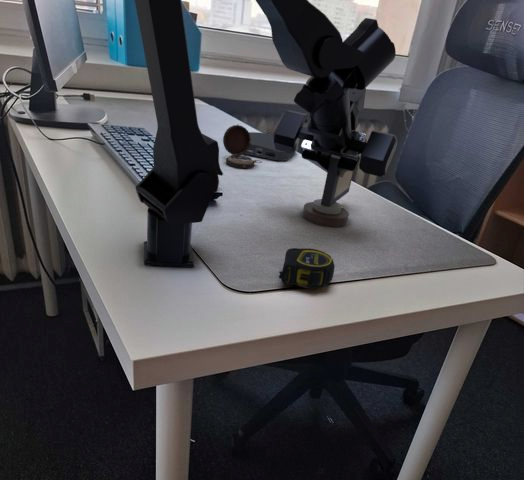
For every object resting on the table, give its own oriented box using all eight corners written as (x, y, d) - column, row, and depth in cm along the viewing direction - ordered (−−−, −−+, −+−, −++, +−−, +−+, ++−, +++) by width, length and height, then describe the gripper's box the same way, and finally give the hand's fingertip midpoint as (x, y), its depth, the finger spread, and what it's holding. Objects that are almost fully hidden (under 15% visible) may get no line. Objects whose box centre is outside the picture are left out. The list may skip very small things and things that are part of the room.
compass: (230, 168, 108) (234, 132, 104) (220, 157, 114) (223, 122, 110) (265, 170, 110) (270, 134, 106) (254, 159, 116) (259, 125, 112)
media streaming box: (298, 151, 129) (300, 139, 127) (284, 164, 117) (286, 150, 115) (243, 139, 131) (245, 127, 129) (224, 150, 119) (225, 137, 117)
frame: (335, 217, 87) (347, 162, 82) (308, 209, 88) (318, 155, 83) (355, 199, 97) (368, 150, 92) (331, 193, 98) (341, 143, 93)
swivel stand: (353, 228, 88) (355, 219, 87) (309, 225, 86) (310, 216, 85) (338, 211, 95) (340, 203, 94) (297, 208, 93) (299, 200, 92)
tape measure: (283, 266, 71) (287, 241, 69) (331, 276, 71) (337, 251, 69) (276, 288, 66) (280, 261, 64) (328, 298, 65) (335, 272, 63)
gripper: (414, 75, 71) (406, 146, 86) (291, 51, 76) (304, 121, 91) (385, 143, 69) (382, 203, 84) (262, 113, 75) (280, 174, 89)
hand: (336, 173), depth 87 cm, fingers closed, pressing on frame
